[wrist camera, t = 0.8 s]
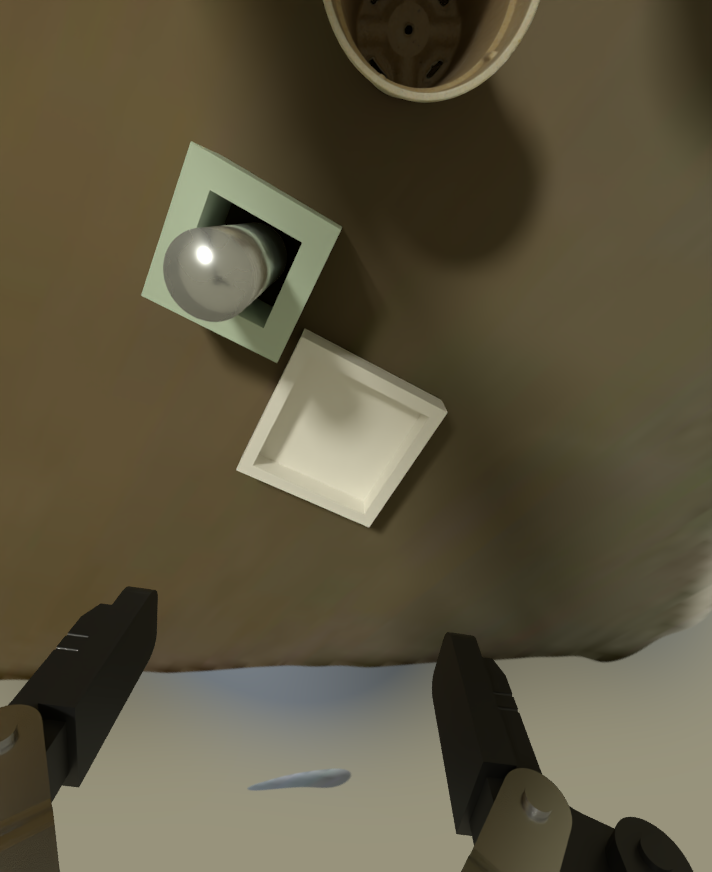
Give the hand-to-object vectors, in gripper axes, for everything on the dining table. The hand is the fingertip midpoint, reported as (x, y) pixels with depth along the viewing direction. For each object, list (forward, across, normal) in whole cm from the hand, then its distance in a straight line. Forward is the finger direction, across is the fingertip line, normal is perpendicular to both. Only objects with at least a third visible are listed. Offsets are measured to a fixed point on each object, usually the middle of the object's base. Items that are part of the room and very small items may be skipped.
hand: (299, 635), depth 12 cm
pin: (+23, +7, -10) cm, 26 cm away
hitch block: (+23, +7, -10) cm, 26 cm away
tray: (+25, 0, +2) cm, 25 cm away
